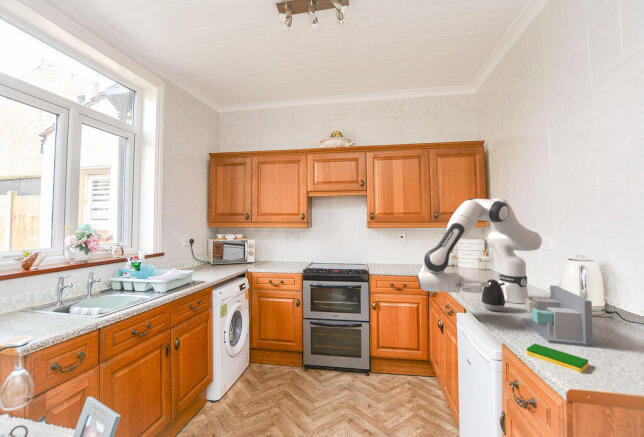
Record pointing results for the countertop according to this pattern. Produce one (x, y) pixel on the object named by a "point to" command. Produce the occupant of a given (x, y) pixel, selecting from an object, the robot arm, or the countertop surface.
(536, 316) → the teal button
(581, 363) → the dish sponge
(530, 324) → the grey angled box fixture
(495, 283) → the pump dispenser
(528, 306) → the ivory button
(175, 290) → the countertop surface
